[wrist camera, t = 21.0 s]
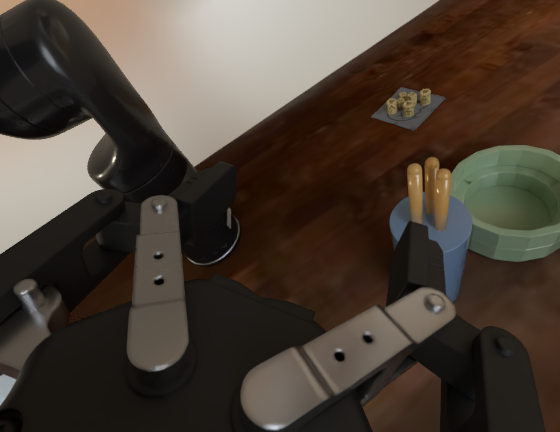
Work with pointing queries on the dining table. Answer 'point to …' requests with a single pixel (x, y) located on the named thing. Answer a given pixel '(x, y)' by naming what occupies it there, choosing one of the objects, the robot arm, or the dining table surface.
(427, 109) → the carved rune cylinders
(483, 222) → the bowl
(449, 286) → the breadstick jar
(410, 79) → the dining table surface
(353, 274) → the dining table surface
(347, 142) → the dining table surface
